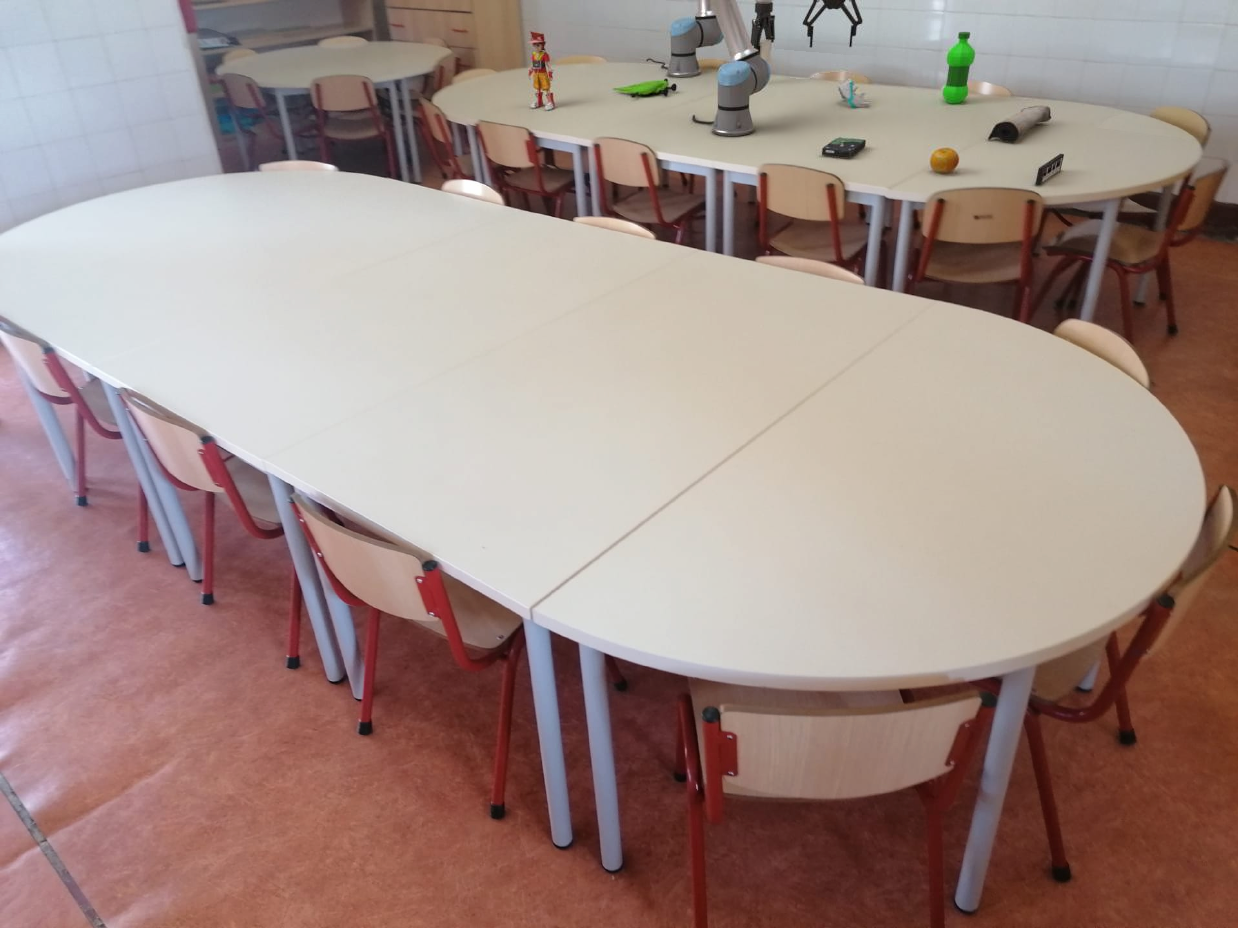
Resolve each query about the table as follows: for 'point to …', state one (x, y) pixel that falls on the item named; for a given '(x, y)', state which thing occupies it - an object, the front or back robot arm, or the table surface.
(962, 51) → the plastic bottle
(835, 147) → the disk drive
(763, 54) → the can
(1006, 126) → the rolled mat
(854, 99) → the anatomical model
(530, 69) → the toy
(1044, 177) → the midi keyboard
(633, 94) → the toy
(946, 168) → the fruit
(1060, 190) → the table surface
